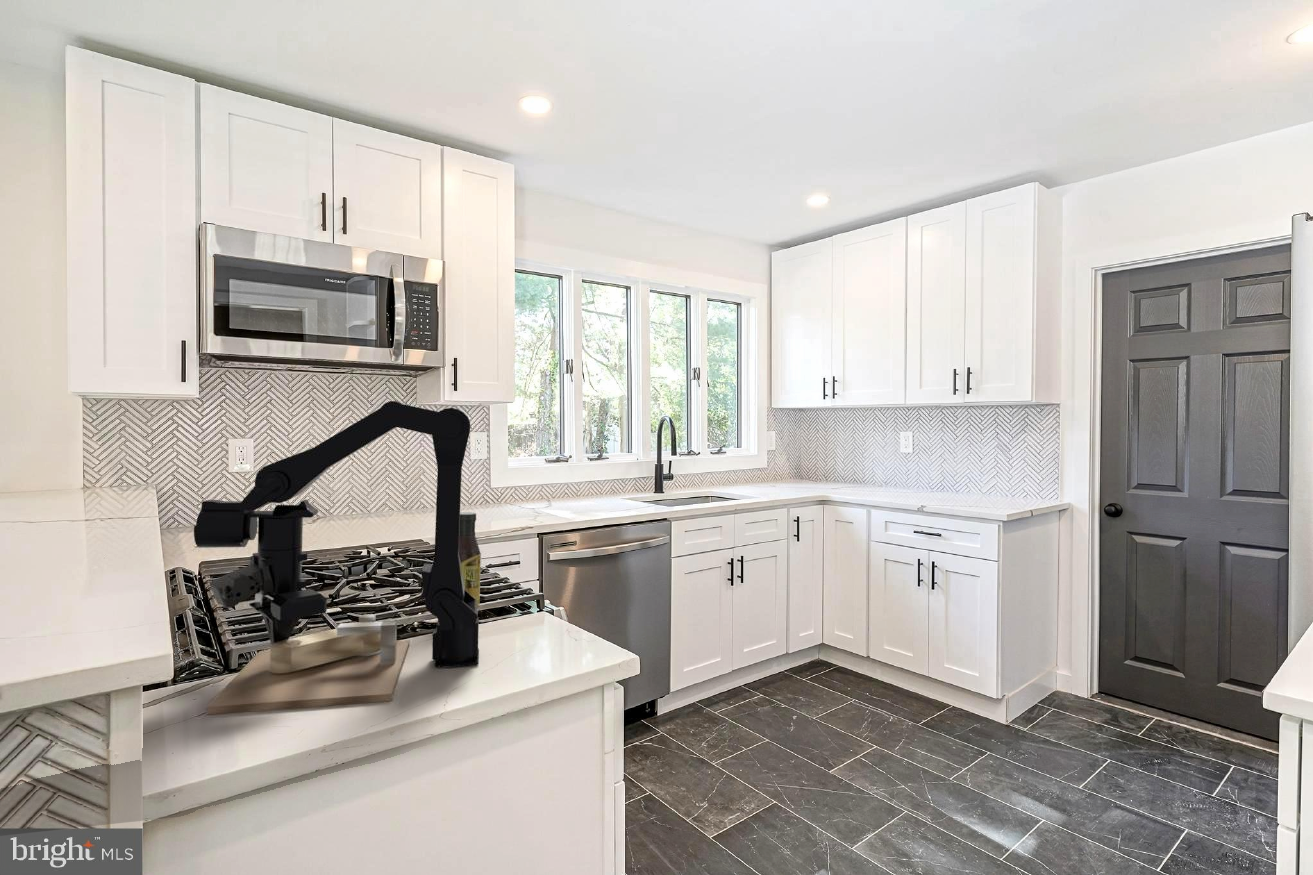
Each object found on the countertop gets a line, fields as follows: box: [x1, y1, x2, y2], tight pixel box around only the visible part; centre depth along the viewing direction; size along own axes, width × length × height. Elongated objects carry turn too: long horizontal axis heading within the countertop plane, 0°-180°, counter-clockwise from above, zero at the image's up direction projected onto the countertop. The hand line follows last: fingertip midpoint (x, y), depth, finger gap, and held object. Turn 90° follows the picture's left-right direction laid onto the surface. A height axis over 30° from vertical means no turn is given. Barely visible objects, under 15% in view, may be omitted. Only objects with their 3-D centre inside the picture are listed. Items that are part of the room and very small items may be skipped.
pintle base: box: [205, 613, 411, 716], centre depth 98 cm, size 22×22×7 cm
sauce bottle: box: [459, 511, 482, 614], centre depth 129 cm, size 6×6×20 cm
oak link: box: [269, 620, 381, 673], centre depth 102 cm, size 16×5×4 cm, turn 139°
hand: (277, 651), depth 99 cm, fingers closed
